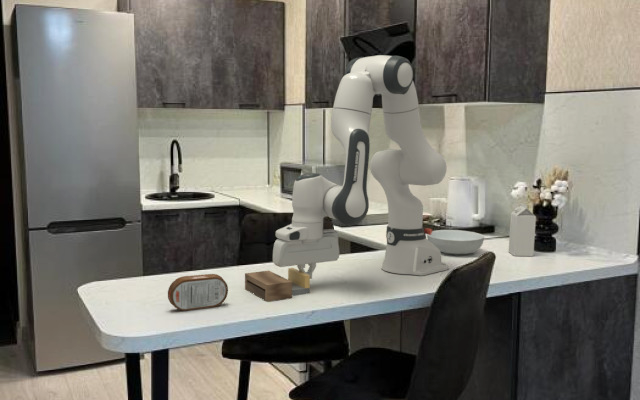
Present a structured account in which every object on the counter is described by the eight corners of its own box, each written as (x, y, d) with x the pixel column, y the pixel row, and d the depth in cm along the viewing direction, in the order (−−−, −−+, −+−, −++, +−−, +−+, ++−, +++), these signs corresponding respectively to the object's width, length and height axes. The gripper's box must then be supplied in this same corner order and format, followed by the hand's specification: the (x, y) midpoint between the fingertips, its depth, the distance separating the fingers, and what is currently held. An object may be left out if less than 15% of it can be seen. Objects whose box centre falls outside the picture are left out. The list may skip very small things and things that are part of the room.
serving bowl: (415, 248, 231) (416, 231, 230) (460, 245, 239) (461, 228, 238) (447, 260, 212) (448, 241, 211) (495, 256, 220) (496, 237, 219)
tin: (225, 303, 156) (225, 271, 155) (229, 306, 153) (229, 274, 152) (167, 310, 149) (167, 277, 148) (170, 314, 146) (170, 280, 145)
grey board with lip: (292, 284, 175) (292, 267, 175) (309, 293, 167) (309, 275, 166) (258, 289, 170) (258, 271, 169) (273, 298, 161) (273, 279, 160)
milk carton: (527, 252, 227) (530, 203, 225) (533, 256, 220) (536, 205, 218) (508, 252, 228) (511, 202, 225) (514, 256, 220) (517, 205, 218)
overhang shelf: (268, 285, 173) (268, 270, 173) (291, 298, 161) (292, 281, 161) (244, 288, 169) (244, 273, 169) (266, 301, 158) (266, 285, 157)
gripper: (332, 226, 178) (331, 272, 179) (270, 231, 167) (269, 280, 169) (344, 230, 172) (342, 277, 174) (280, 235, 162) (280, 285, 164)
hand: (306, 278), depth 171 cm, fingers closed
